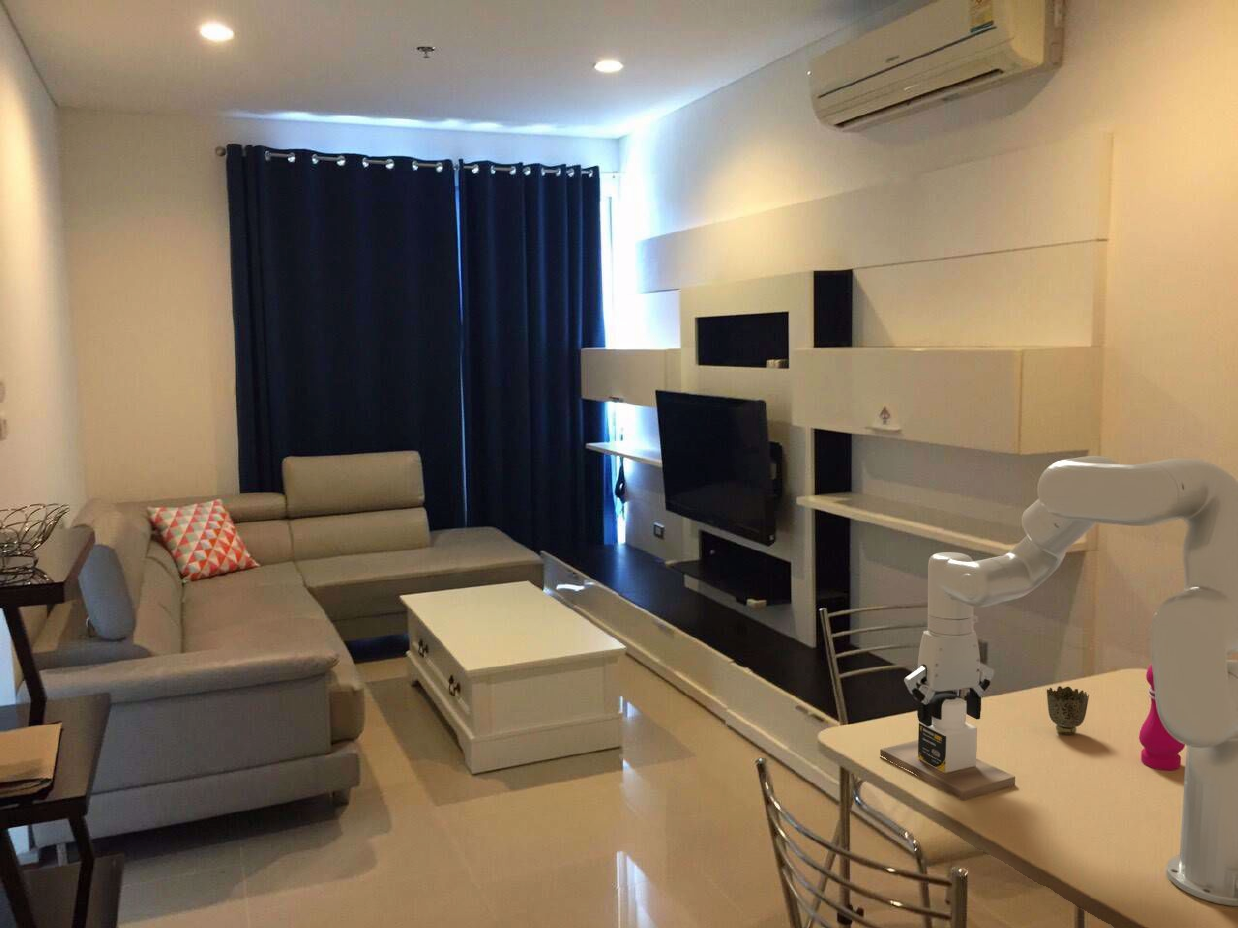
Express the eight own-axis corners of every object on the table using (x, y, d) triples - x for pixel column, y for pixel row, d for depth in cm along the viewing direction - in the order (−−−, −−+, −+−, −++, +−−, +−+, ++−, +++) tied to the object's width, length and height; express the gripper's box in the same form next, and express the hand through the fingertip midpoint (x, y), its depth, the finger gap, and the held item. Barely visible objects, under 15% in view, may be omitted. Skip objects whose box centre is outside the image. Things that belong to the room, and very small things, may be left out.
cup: (1062, 741, 194) (1064, 700, 193) (1036, 727, 201) (1038, 688, 200) (1095, 737, 196) (1097, 696, 195) (1069, 723, 203) (1071, 684, 202)
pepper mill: (1189, 773, 180) (1196, 661, 177) (1144, 770, 181) (1150, 659, 179) (1176, 756, 187) (1182, 649, 184) (1132, 753, 188) (1138, 647, 186)
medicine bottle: (916, 758, 184) (918, 693, 182) (948, 751, 186) (950, 687, 185) (944, 774, 177) (946, 706, 176) (977, 766, 180) (979, 700, 178)
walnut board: (1015, 784, 176) (1015, 776, 176) (963, 800, 171) (963, 791, 170) (929, 744, 194) (929, 736, 193) (880, 757, 188) (880, 749, 188)
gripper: (980, 614, 185) (978, 707, 187) (894, 623, 180) (893, 719, 182) (1006, 624, 178) (1005, 721, 179) (918, 634, 173) (917, 733, 175)
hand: (949, 720), depth 181 cm, fingers open, 9 cm apart
